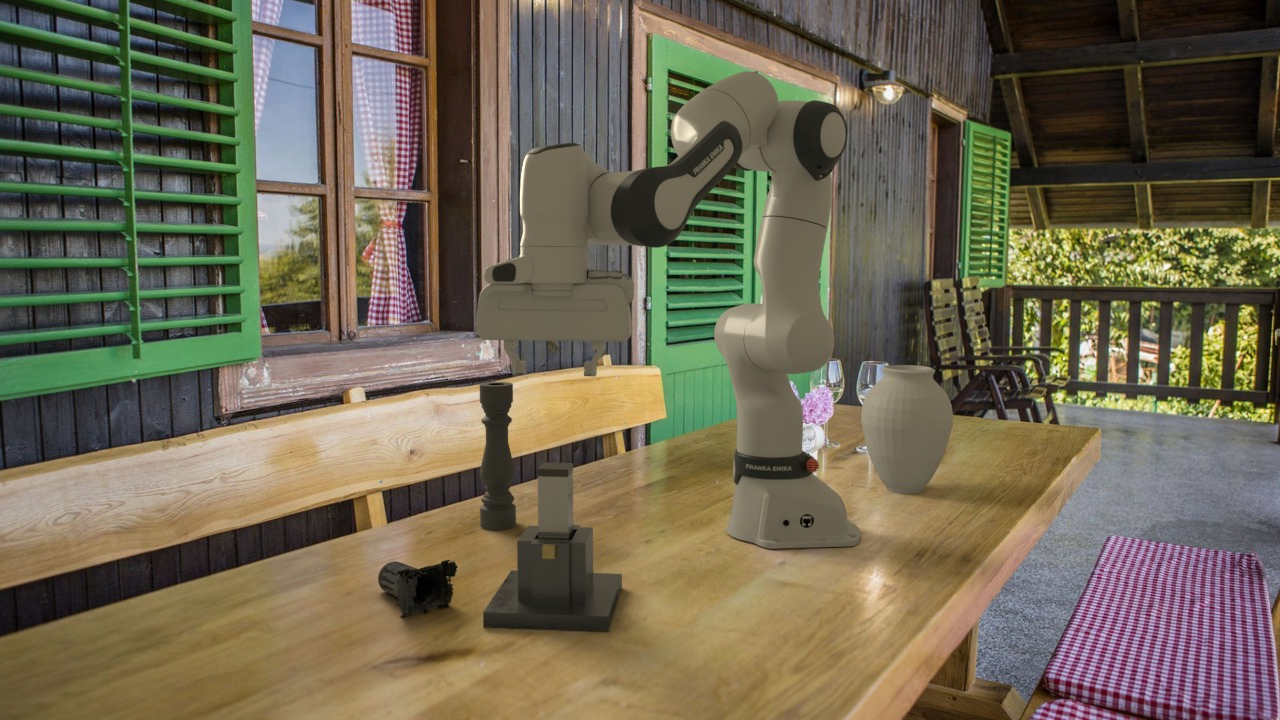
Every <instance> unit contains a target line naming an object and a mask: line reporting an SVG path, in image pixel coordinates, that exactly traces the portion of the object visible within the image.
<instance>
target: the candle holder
mask: <svg viewBox="0 0 1280 720" xmlns="http://www.w3.org/2000/svg"><path fill="white" fill-rule="evenodd" d="M513 395H514V383H512V382H507V381H504V382H503V381H490V382H483V383H482V382H481V383H480V384H479V403H480V404H481V409H482V410H483V413H484V414H485V416H483V417H482V418H481V420H480V421H481V423H482V424H483V425H484V427H485V445H484V449H483V450H484V451H483V455H482V460H481V464H480V469H479V477H480V480H481V482H482V483H483V484H484V488H485V490H486V491H485V492H484V494H483V496H482V497H481V503H482V504H481V505H480V507H479V515H480V516H479V520H480V527H481V529H483V530H487V531H503V530H508V529H513V528H514V527H516V526H517V506H516V504H515V503H514V501H515V497H514V496H515V495H513V494H512V492H511V490H510V489H511V486H512V485H511V484H512V483H513V481H514V479H515V476H516V469H515V465H514V461H513V456H512V453H511V447H510V443H509V426H510V424H511V423H512V421H513V418H512V417H511V416H510V415H509V412H510V409H511V408H512V403H513V402H514V396H513Z"/></svg>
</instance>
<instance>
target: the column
mask: <svg viewBox="0 0 1280 720" xmlns="http://www.w3.org/2000/svg"><path fill="white" fill-rule="evenodd" d="M537 514H538V515H537V520H538V522H537V526H538V532H537V536H538V539H547V540H572V538H573V529H574V525H575V524H574V462H552V461H551V462H546V461H545V462H542V464H541V465H539V466H538V468H537Z"/></svg>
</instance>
